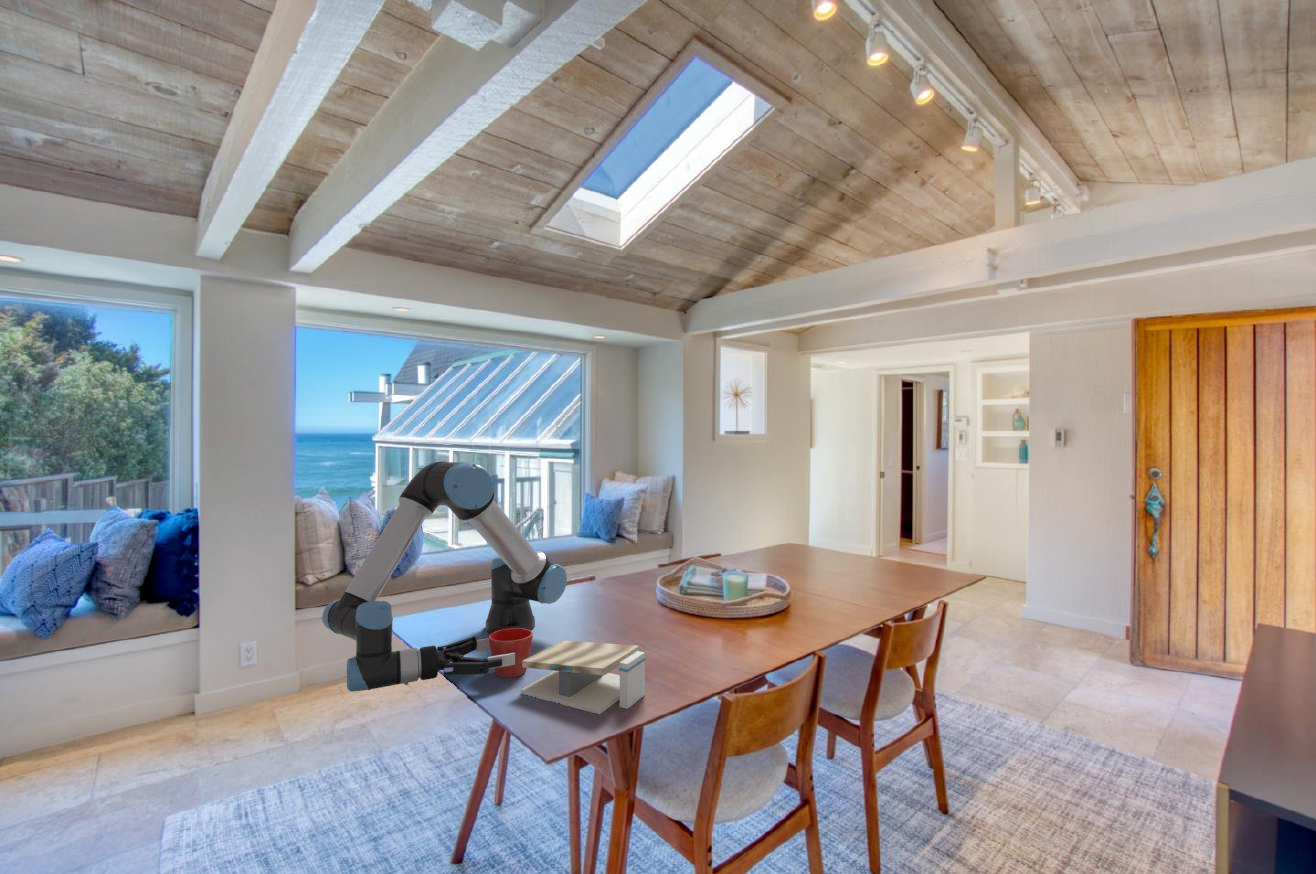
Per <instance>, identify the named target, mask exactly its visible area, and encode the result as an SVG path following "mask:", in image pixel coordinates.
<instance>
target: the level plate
mask: <svg viewBox="0 0 1316 874" xmlns="http://www.w3.org/2000/svg"><path fill="white" fill-rule="evenodd" d="M637 651H640V652H641V648H640V645H634V644H633V645H632V644H618V643H605V642H604V643H603V642H592V641H591V642H589V641H576V640H575V641H574V640H563V639H562V640H561V641H559V642H556V643H555V644H553V645H551V646H549V647H547V648H544V649H543V650H541V651H539V652H537V653H536V654H533V655H531V656H529V658H527V659H525V660H523V661H522V667H524V668H527V669H535V670H536V669H537V670H546V671H564V672H574V673H584V674H594V675H606V674H607V673H610V672H612V671H613V670H615V669H617V668H618V667H620V662H621V661H623V660H624V659H626V658H627V657H629V656H630V655H632V654H634V653H635V652H637Z"/></svg>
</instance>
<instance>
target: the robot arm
mask: <svg viewBox="0 0 1316 874" xmlns="http://www.w3.org/2000/svg"><path fill="white" fill-rule="evenodd" d="M493 484H494V479H493V477H492V475H491V473H490V472H489V471H488V470H487V469H486V468H485V467H483V466H482V465H479V464H477V463H474V462H473V463H472V462H468V461H465V462H463V461H462V462H454V461H452V462H451V461H435V462H432V463H429V464H428V465H426V466H424V467H422V468H421V470H419V471H418V472H417V473H416V474H415V475H414V476H413V477H412V479H411V480H410V481H409V482H408V484H407V485H406V487H405V488H404V489H403V490H402V493H401V494H400V495H399V498H398V506H397V508H396V509H395V511H394V512H393V514H392V516H391V518H390V519H389V520H388V522H387V524H386V526H385V527H384V529H383V531H382V532H381V534H380V535H379V537H378V538H377V540H376V541H375V543H374V545H373V546H372V548H371V550H370V551H369V553H367V554H368V555H366V557H365V559H364V561H363V562H362V563H361V565H360V567H359V569H358V570H357V572H356V573H355V575H354V577H353V578H352V579H351V581H350V583H349V584H348V586H347V587H346V589H345V591H344V593H343V594H342V595H341V597H340V599H336V600H333V601H332V602H330V603H329V604H328V605H327V606H326V607H325V608H324V610H323V613H322V615H321V616H322V619H321V620H322V623H323V625H324V627H325V628H327V629H328V630H330V631H331V632H333V633H334V634H337V635H341V636H343V637H347V638H349V639H350V640H351V639H352V640H354V641H355V645H356V646H355V649H356V650H355V652H356V653H355V656H353V657H350V658H348V659H347V660H346V689H347V690H348V691H349V692H352V693H353V692H361V691H363V692H364V691H371V690H375V689H380V688H385V687H386V688H387V687H391V686H392V687H393V686H397V685H401V684H402V685H403V684H404V685H405V686H408V685H409V683H412V682H413V683H414V682H418V681H419V679H420V680H421V681H426V680H427V681H428V680H433V679H436V678H437V677H438V674H439V671H443V675H444V676H451V675H488V674H489V670H493V669H495V668H499V667H505V666H510V665H515V653H509V654H503V655H497V656H492V655H491V656H487V657H486V658H480V657H479V658H478V657H467V656H466V655H468V654H470V653H472V652H473V651H475V650H476V651H477V652H479V651H485V650H491V648H490V642H489V637H485V638H479V639H477V636H474V635H473V636H471V637H467V638H464V639H462V640H458V641H456V642H451V643H448V644H445V645H440V646H436V645H429V646H421V647H420V648H419V649H418V648H417V647H412V648H408V649H406V648H405V649H401V650H396V651H393V645H392V644H393V622H394V621H393V620H394V618H393V612H392V604H391V603H390V602H389V601H385V600H377V599H378V598H379V596H380V594H381V593H382V591H383V590H384V587H386V584H387V583H388V581H389V579H390V578H391V576H392V574H393V573H394V571H395V569H396V568H397V566H398V565H399V563H400V561H401V559H402V558H403V556H404V555H405V553H406V551H407V550H408V548H409V547H410V544H411V543H412V541H413V540H414V538H415V536H416V535H417V533H418V531H419V530H420V528H421V527H422V524H423V523H424V521H425V520H426V518H428V517H432V515H433V514H434V512H435V510H437V508H438V507H439V506H446V507H447V508H448V509H449V510H451V512H452V513H453V514H454V515H455V516H456V518H458V519H459V520H460V521H462V522H469V523H470V525H472V527H473V528H474V529H475V530H476V531H477V532H478V534H479V535H481V537H482V538H483V539H484V540H485V542H486V543H487V544H488V545H489V546H490V548H492V549H493V551H494V552H495V553H496V554H497V555H496V556H495V557H493V559H492V560H491V568H490V572H491V573H490V574H491V577H490V579H491V582H490V583H491V604H490V606H489V607H490V608H489V611H488V615H487V618H486V620H485V631H486V630H487V631H488V632H487V631H486V632H487V633H489V632H490V633H489V634H492V633H493V632H496V631H499V630H502V629H509V628H523V629H528V630H530V631H532V630H533V629H534V628H535V627H536V619H535V616H534V614H533V610H532V606H531V602H530V601H532V602H537V603H540V604H542V605H543V604H547V605H550V604H554V603H556V602H557V601H558V600H559V599H560V598H562V596H563V594H564V593H565V590H566V587H567V580H568V575H567V574H568V573H567V570H566V569H565V568H564V567H563V566H562V565H560V564H558V563H553V562H552V561H551V560H550V559H549V558H548V556H546V554H545V553H544V552H543V551H541V550H535V549H534V548H533V546H532V545H531V544H530V543H529V542H528V541H527V539H526V537H524V535H523V534H522V533H521V532H520V530H519V529H518V528H517V527H516V526H515V524H514V523H513V522H512V521H511V519H510V518H509V517H508V516H507V514H506V513H505V511H503V509H502V508H501V507H500V506H499V504H498V503H497V502H496V501H495V499H496V492H495V488H494V485H493Z"/></svg>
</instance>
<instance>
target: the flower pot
mask: <svg viewBox="0 0 1316 874" xmlns="http://www.w3.org/2000/svg"><path fill="white" fill-rule="evenodd" d="M533 636H534V632H533V631H532V630H528V629H523V628H509V629H502V630H499V631H496V632H493V633H489V635H488V638H489V642H490V648H491V649H490V652H491V656H497V655H503V654H509V653H515V665H510V666H505V667H499V668H494V671H495V672H494V673H495V675H496V676H498V677H501V678H515V677H519V676H522V675H524V674H525V673H526V672H527V670H528V668H524V667H522V661H523V660H525V659H527V658H529V657H530V654H531V647H532V644H533V643H532V641H533Z"/></svg>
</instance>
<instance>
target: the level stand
mask: <svg viewBox="0 0 1316 874" xmlns="http://www.w3.org/2000/svg"><path fill="white" fill-rule="evenodd" d="M645 665H646V652H643V651H641V650H640V651H637V652H635V653H634V654H632V655H630V656H629V657H627V658H626V659H624V660H623V661H621V662H620V665H619V668H618V670H619V674H615V673H610V672H609V673H607V674H606V675H594V674H584V673H574V672H564V671H554V670H552V671H551V672H550V673H548V674H546V675H544V676H543V677H540V678H538V679H537V680H536V681H533V682H531V683H530V684H529V685H526V686H525V687H523V688H522V689H521V690H520V694H521V695H523V694H524V696H527V695H528V697H531V696H532V698H535V697H536V699H539V700H543V701H547V702H550V701H553V702H552V703H554V702H556V703H555V704H558V703H560V704H559V705H562V706H567V707H569V706H570V708H573V709H577V710H581V711H585V712H589V713H593V714H597V715H601V714H602V713H604V712H605V711H606V710H608V709H609V708H610V707H612V706H613V705H615V704H616V703H617V702H618V701H619V708H622V709H626V710H628V709H629V708H630V707H632V706H633V705H634V704H635V703H637V702H638V701H639V700H641V699H642V698H643V697H645V695H646V694H645V693H646V692H645V689H646V686H645V685H646V681H645V680H646V669H645V668H646V666H645Z"/></svg>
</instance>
